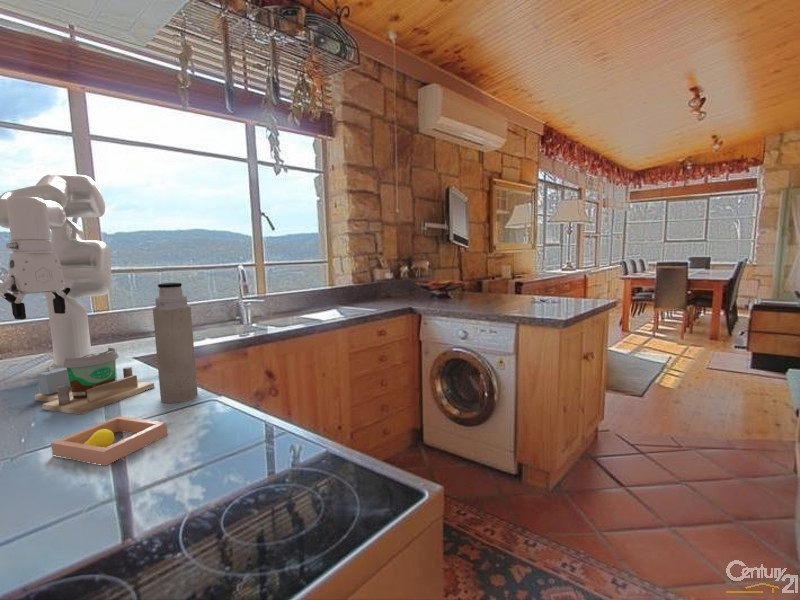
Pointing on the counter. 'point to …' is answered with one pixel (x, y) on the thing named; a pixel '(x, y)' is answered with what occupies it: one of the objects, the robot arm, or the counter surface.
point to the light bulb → (101, 438)
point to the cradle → (94, 395)
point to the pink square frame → (100, 455)
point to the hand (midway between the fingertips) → (40, 315)
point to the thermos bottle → (174, 344)
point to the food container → (90, 371)
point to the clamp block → (53, 380)
